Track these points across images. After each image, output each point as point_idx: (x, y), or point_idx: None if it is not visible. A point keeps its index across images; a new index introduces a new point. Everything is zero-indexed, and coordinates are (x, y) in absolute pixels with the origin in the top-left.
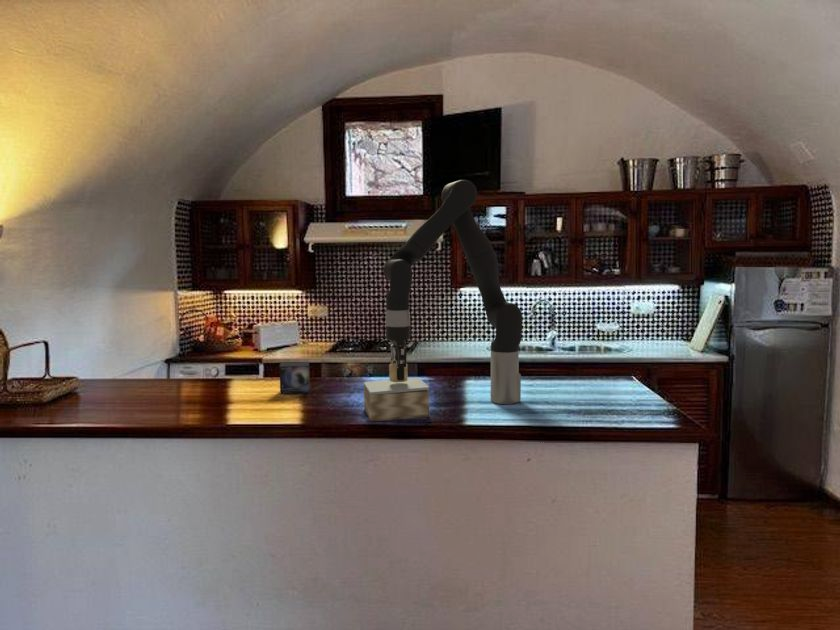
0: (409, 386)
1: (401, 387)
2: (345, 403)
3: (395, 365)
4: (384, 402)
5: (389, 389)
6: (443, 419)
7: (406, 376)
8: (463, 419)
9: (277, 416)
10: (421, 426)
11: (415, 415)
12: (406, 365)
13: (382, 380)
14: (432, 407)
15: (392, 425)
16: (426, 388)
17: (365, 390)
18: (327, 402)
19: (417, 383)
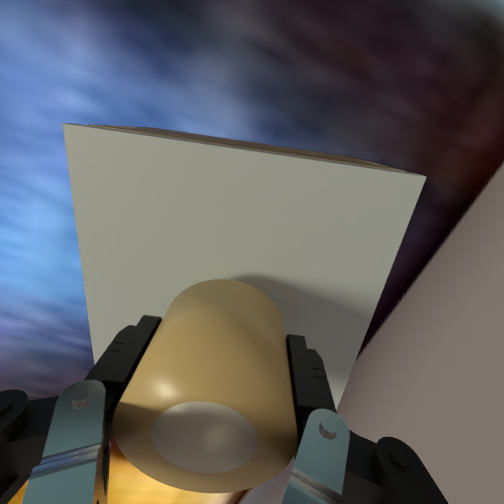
0: (321, 284)
1: (315, 327)
2: (62, 362)
3: (248, 469)
4: None
5: None
6: (418, 109)
7: (270, 317)
8: (481, 2)
9: (161, 498)
10: (446, 234)
11: None
12: (272, 389)
13: (95, 355)
14: (205, 72)
15: (375, 313)
16: (414, 195)
17: None
18: (42, 398)
19: (269, 210)
